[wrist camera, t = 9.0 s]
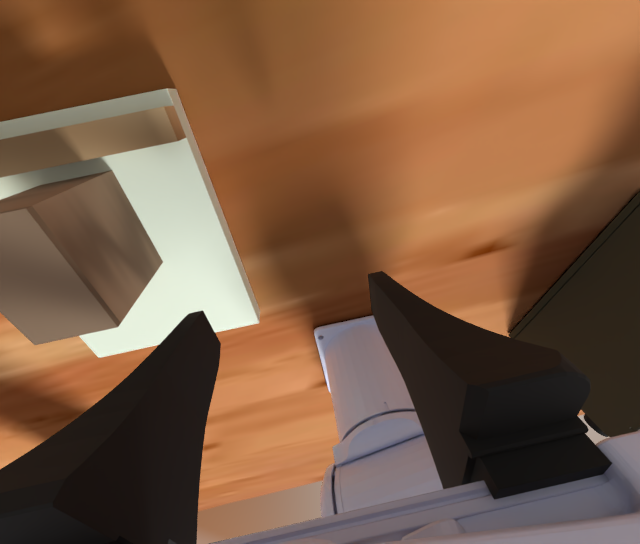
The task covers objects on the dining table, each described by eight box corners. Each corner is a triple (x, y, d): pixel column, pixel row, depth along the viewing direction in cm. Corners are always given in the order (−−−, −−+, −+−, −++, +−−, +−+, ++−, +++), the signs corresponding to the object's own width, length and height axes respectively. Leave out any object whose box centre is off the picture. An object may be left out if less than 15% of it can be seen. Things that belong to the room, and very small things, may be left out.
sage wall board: (260, 311, 24) (259, 323, 23) (108, 343, 24) (98, 357, 22) (176, 89, 15) (166, 88, 14) (-65, 137, 15) (-97, 141, 14)
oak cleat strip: (186, 137, 15) (177, 141, 14) (-55, 187, 15) (-86, 195, 14) (173, 105, 14) (163, 106, 13) (-82, 157, 14) (-118, 163, 13)
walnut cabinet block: (163, 262, 19) (117, 327, 13) (103, 274, 19) (34, 345, 13) (112, 170, 15) (25, 208, 10) (40, 184, 15) (-85, 231, 10)
